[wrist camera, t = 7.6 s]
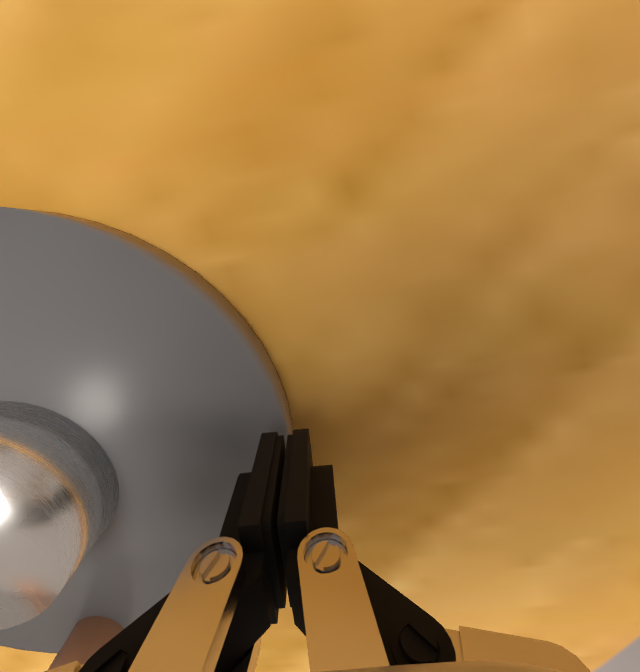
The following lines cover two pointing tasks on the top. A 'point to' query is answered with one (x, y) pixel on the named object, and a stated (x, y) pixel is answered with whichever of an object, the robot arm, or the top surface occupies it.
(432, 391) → the top surface
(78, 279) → the grey domed disc
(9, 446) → the cover
